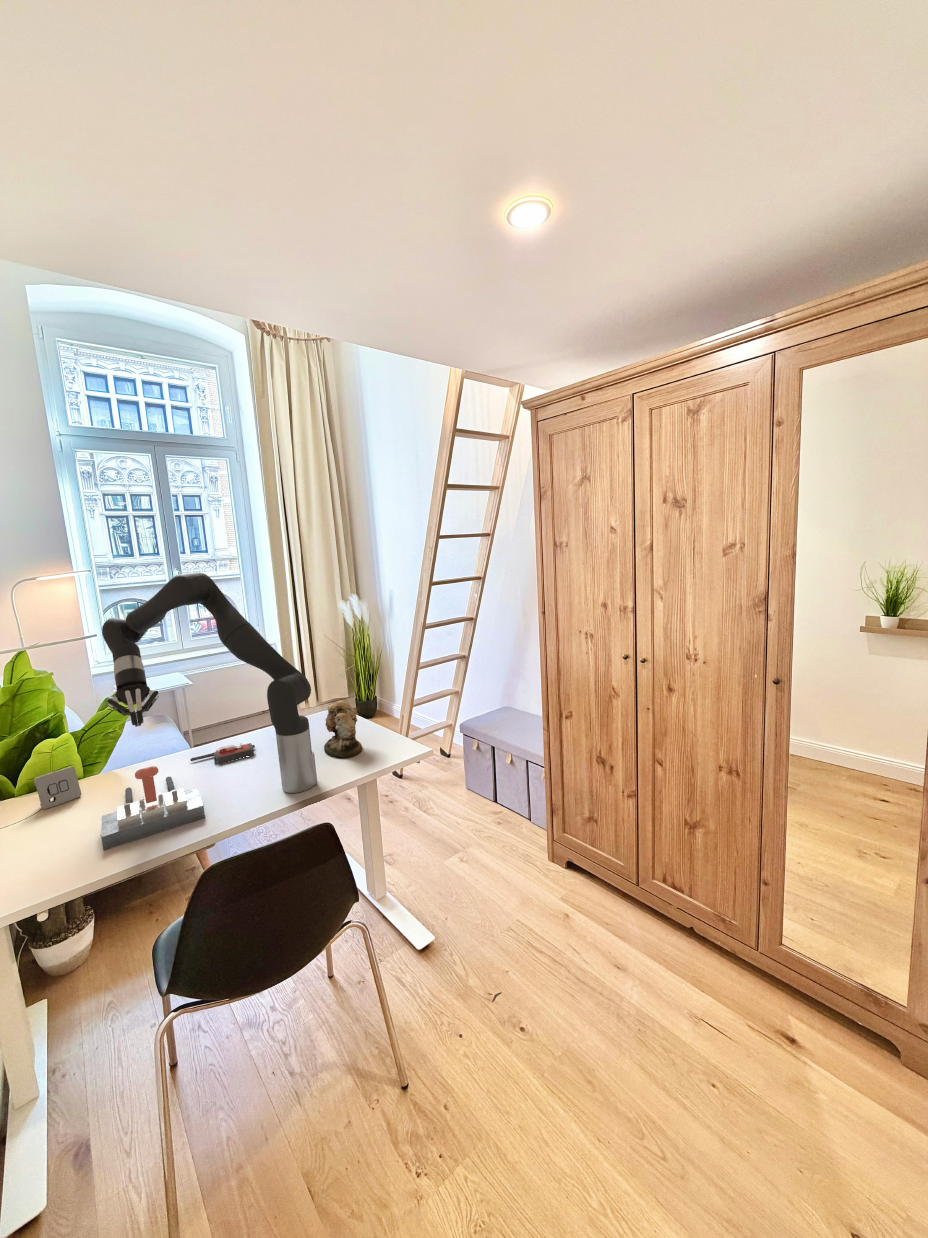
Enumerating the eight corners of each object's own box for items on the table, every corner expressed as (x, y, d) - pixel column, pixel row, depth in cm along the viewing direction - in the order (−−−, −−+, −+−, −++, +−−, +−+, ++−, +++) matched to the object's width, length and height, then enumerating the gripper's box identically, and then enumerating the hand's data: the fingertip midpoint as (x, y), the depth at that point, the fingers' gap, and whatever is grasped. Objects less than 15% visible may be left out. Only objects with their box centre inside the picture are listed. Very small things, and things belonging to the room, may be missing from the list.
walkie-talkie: (254, 747, 178) (190, 762, 168) (252, 735, 178) (188, 750, 167) (258, 755, 171) (192, 772, 161) (256, 743, 170) (190, 759, 160)
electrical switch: (42, 811, 140) (35, 779, 139) (38, 807, 144) (31, 776, 143) (82, 797, 148) (76, 766, 147) (77, 793, 151) (71, 764, 150)
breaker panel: (198, 799, 142) (194, 773, 141) (205, 817, 132) (201, 789, 131) (104, 828, 130) (99, 800, 128) (103, 850, 120) (97, 820, 119)
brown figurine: (315, 746, 175) (311, 699, 173) (347, 737, 182) (343, 692, 180) (337, 762, 161) (332, 711, 159) (370, 751, 168) (366, 703, 166)
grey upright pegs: (173, 779, 155) (172, 771, 155) (180, 805, 139) (179, 796, 139) (123, 793, 148) (122, 785, 148) (125, 822, 132) (123, 813, 132)
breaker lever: (161, 793, 132) (157, 762, 125) (163, 800, 130) (158, 770, 124) (139, 799, 129) (133, 769, 122) (140, 807, 128) (134, 776, 121)
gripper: (101, 671, 143) (108, 724, 135) (155, 663, 150) (164, 712, 142) (104, 685, 148) (111, 737, 140) (156, 676, 155) (165, 725, 147)
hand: (138, 724), depth 141 cm, fingers closed
